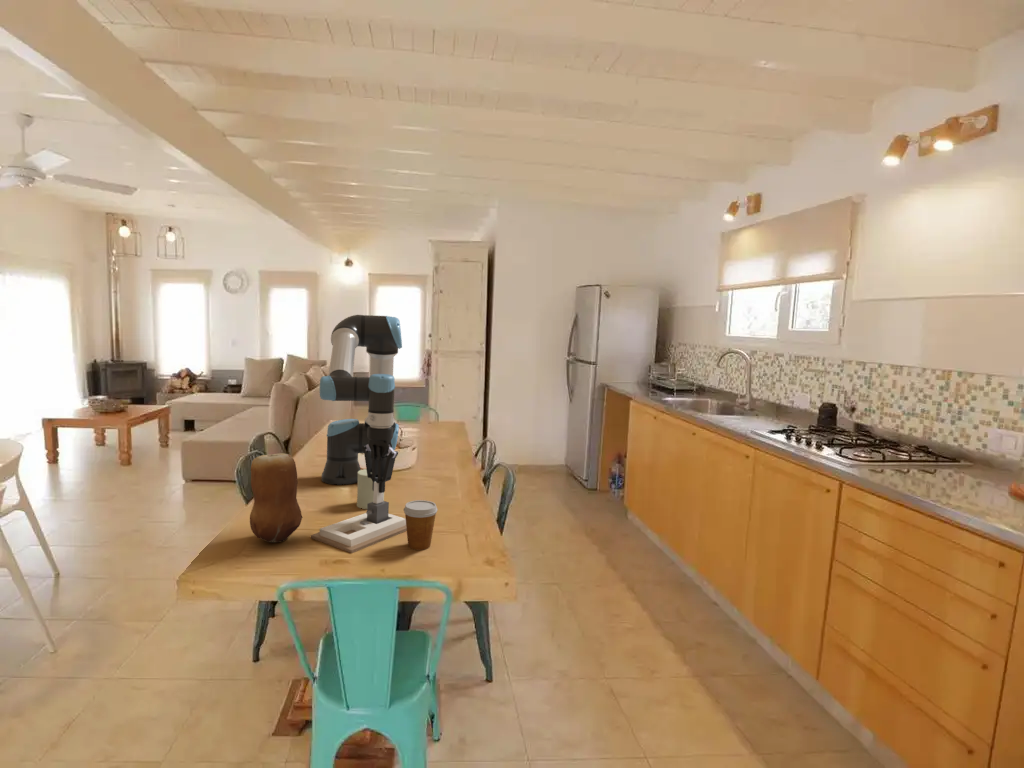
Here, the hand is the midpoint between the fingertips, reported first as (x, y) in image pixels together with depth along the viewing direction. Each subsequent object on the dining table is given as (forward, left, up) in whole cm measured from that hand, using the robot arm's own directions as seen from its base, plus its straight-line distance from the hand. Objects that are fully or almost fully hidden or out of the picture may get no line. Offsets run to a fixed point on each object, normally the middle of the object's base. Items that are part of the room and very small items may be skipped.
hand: (378, 502), depth 176 cm
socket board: (0, -5, -8) cm, 10 cm away
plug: (0, 0, -7) cm, 7 cm away
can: (-17, +14, -8) cm, 23 cm away
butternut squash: (-14, -25, -8) cm, 30 cm away
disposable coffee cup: (+19, -2, -8) cm, 21 cm away
